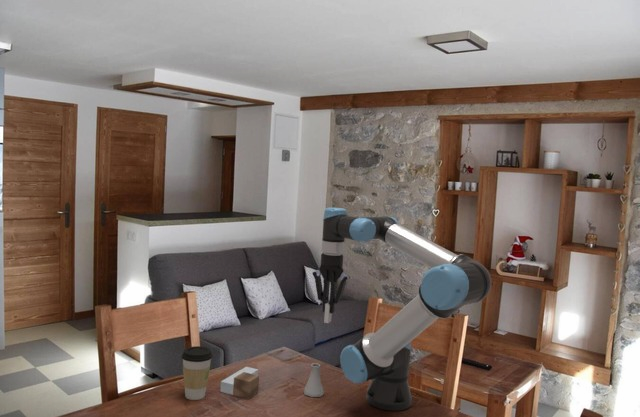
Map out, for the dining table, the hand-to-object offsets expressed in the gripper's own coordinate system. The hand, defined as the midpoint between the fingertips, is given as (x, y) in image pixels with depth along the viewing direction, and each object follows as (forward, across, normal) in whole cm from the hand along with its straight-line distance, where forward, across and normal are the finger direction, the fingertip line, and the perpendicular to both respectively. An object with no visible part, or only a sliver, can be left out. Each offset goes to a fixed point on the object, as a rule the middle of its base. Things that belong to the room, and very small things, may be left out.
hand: (327, 321), depth 183 cm
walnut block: (+25, +21, +16) cm, 36 cm away
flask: (+25, +2, +3) cm, 25 cm away
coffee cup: (+25, +34, +26) cm, 49 cm away
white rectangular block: (+24, +26, +11) cm, 38 cm away
